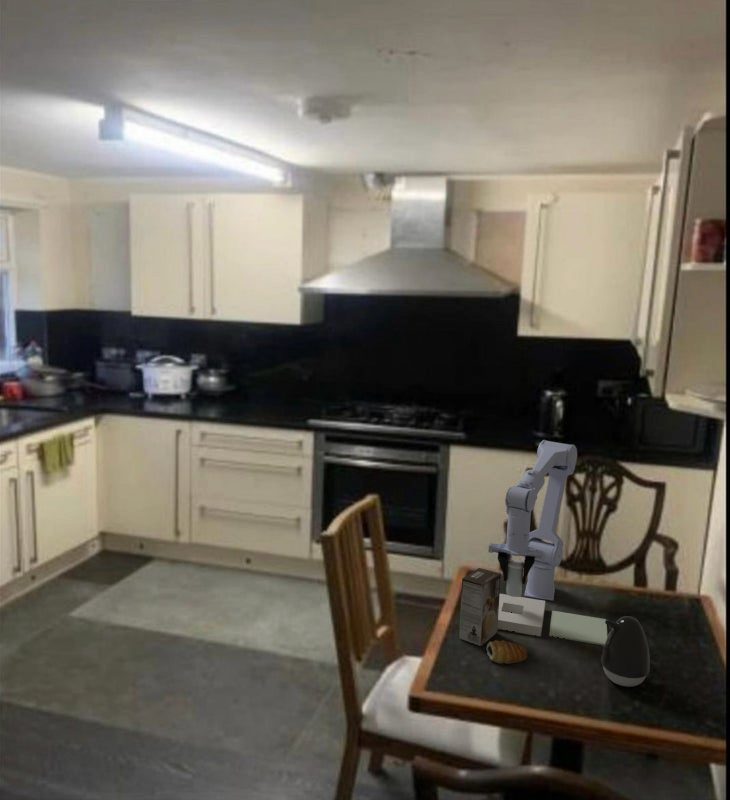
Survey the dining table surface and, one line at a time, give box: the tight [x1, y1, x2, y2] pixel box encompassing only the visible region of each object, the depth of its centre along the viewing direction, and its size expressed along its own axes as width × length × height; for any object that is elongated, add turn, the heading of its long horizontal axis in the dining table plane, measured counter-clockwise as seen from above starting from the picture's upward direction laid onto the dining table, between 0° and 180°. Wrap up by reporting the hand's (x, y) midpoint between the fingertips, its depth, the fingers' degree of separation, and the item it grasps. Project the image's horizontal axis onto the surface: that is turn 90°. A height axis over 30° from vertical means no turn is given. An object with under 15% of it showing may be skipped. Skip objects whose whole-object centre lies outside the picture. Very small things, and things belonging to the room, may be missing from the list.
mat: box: [548, 610, 608, 647], centre depth 184 cm, size 14×14×1 cm
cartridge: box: [505, 559, 524, 597], centre depth 187 cm, size 4×4×8 cm
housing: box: [497, 593, 546, 637], centre depth 188 cm, size 16×16×2 cm
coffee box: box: [458, 567, 502, 647], centre depth 177 cm, size 9×6×16 cm
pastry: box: [485, 639, 528, 665], centre depth 168 cm, size 9×7×4 cm
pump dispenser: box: [600, 615, 651, 688], centre depth 159 cm, size 10×10×15 cm
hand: (514, 581), depth 187 cm, fingers closed on cartridge, 4 cm apart
